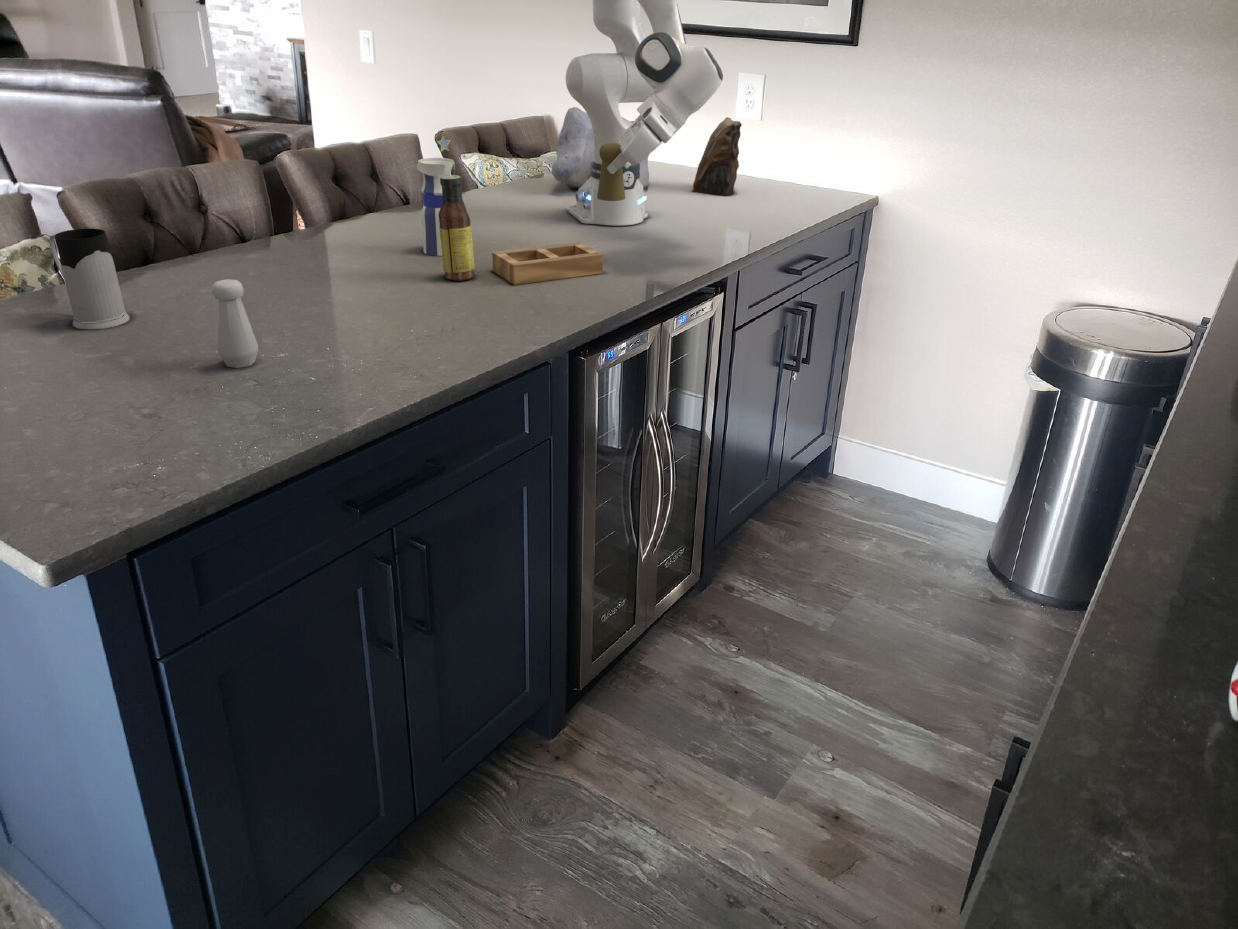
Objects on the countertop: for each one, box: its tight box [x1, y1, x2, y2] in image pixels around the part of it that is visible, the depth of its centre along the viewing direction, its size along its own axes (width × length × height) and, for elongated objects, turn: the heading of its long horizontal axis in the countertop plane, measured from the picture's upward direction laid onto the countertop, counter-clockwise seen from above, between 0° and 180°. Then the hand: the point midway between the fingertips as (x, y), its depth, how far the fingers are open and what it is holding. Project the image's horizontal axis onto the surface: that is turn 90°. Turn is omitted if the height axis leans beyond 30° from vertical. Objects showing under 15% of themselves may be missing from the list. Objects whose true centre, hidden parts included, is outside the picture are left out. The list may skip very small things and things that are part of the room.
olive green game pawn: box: [597, 143, 625, 201], centre depth 194 cm, size 6×6×11 cm
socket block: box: [491, 242, 604, 286], centre depth 192 cm, size 11×20×4 cm, turn 119°
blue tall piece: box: [416, 135, 456, 257], centre depth 200 cm, size 8×9×25 cm
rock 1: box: [551, 106, 650, 189], centre depth 268 cm, size 23×30×27 cm
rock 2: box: [691, 116, 743, 197], centre depth 267 cm, size 13×13×20 cm
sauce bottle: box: [439, 174, 476, 282], centre depth 183 cm, size 7×6×20 cm
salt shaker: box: [211, 278, 259, 369], centre depth 141 cm, size 6×6×13 cm
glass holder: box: [49, 228, 131, 330], centre depth 157 cm, size 9×14×15 cm, turn 58°
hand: (608, 168), depth 193 cm, fingers closed on olive green game pawn, 4 cm apart
